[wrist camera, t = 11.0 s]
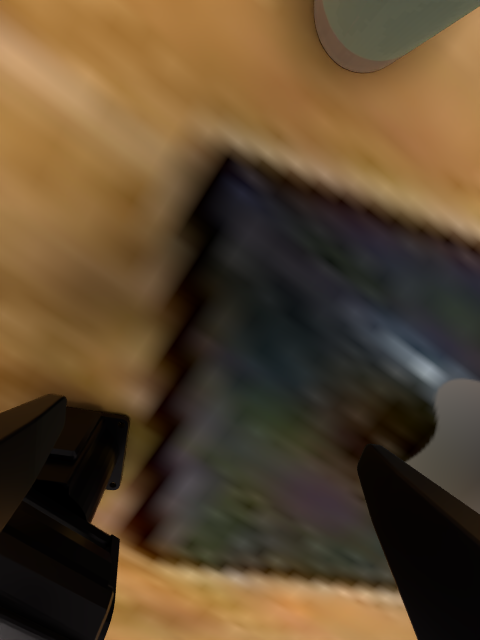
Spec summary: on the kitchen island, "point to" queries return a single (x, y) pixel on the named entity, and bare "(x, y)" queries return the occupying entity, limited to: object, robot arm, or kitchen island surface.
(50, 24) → the kitchen island surface
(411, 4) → the coffee cup
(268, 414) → the kitchen island surface
